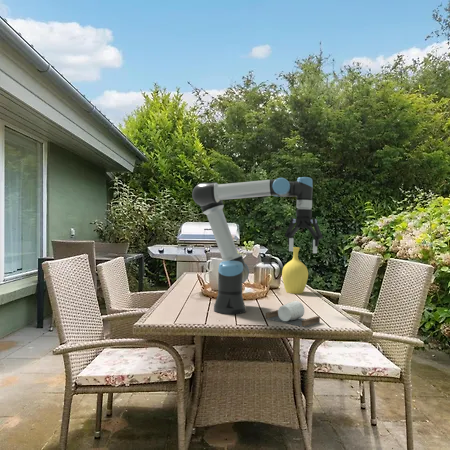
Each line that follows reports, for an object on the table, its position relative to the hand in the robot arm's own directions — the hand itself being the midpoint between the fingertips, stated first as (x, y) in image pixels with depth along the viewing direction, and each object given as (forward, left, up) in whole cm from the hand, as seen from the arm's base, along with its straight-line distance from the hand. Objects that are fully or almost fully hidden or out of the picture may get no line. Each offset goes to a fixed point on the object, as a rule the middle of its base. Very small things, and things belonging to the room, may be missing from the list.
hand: (302, 252), depth 200 cm
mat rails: (+9, -21, -29) cm, 37 cm away
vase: (-32, +43, -29) cm, 61 cm away
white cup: (+9, -27, -25) cm, 38 cm away
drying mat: (+9, -21, -29) cm, 37 cm away
